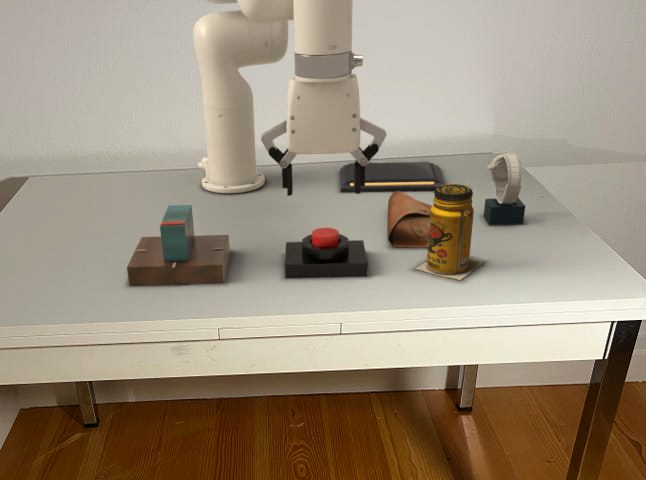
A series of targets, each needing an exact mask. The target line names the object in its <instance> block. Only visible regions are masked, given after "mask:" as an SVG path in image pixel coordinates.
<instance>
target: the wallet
mask: <svg viewBox="0 0 646 480" xmlns="http://www.w3.org/2000/svg"><path fill="white" fill-rule="evenodd" d="M339 171H340V172H339V175H340V193H355V191H354V162H350V163H348V164H344V165H343V166H342V167H340V170H339ZM442 185H445V180H444V177H443V174H442V172H441V168H440V166H439V165H437V164H435V163H433V162H429V161H400V162H396V161H395V162H368V163H367V165H365V186H360V193H364V192H365V193H368V192H371V193H372V192H373V193H374V192H395V191H400V192H425V191H427V192H429V191H430V192H431V191H432V192H433V191H434V192H435V189H436V188H437V187H439V186H442Z"/></svg>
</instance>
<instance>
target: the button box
mask: <svg viewBox="0 0 646 480" xmlns="http://www.w3.org/2000/svg"><path fill="white" fill-rule="evenodd" d="M284 252H285V253H284V254H285V255H284V257H285V258H284V278H285V279H321V278H364V277H368V274H369V273H368V271H369V267H368V266H369V263H368V258H367V253H366V247H365V242H364V240H363V239H360V240H355V239H354V240H349V238H348V237H347V236H345V235H343V234H341V233H339V244H338V245H335V246H330V247H320V246H315V245H313V244H312V234H308V235H306V236H304V237H303V238H302V239H301V241H287V242H285V251H284Z"/></svg>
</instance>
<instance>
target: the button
mask: <svg viewBox="0 0 646 480" xmlns="http://www.w3.org/2000/svg"><path fill="white" fill-rule="evenodd" d="M339 234H340V231H339V230H338V229H336V228H332V227H318V228H315V229H314V230H312V231H311V235H312V244H313V245H315V246H320V247H330V246H335V245H338V244H339Z"/></svg>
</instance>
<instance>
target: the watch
mask: <svg viewBox="0 0 646 480" xmlns="http://www.w3.org/2000/svg"><path fill="white" fill-rule="evenodd" d="M487 170H488V171H490V174H491V179H492V180H491V181H492V182H493V183H494V194H495V198H485V199H484V207H483V208H484V209H483V218H484V220H485V221H486V222H487V224H488V225H489V226H510V225H524V220H525V213H526V205H525V204H524V202H523V201H522V200H521V199H520V198H519V197H520V193H521V190H522V185H521V184H522V173H523V172H522V160H521V157H520V154H516V153H515V154H514V153H503V154H500V155H497V156H496V157H494V158H493V159H492V160H491V161H490V164H488V165H487Z"/></svg>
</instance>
